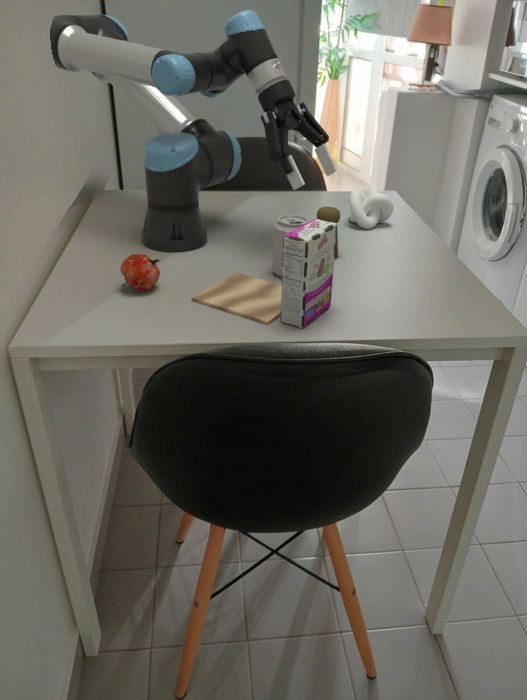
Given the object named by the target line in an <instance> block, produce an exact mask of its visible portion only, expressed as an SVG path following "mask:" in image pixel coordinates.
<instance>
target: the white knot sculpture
mask: <svg viewBox="0 0 527 700" xmlns="http://www.w3.org/2000/svg"><path fill="white" fill-rule="evenodd" d="M348 197H349V198H348V204H349V208H348V209H349V210H348V214H347V215H348V216H347V217H348V220H349V221H350V222H352V224H353V223H354V224H356V223H357V225H359V227H360V228H363V229H365V230H371V229H373V228H374V227H376V225H377V224H381V223H385V222H386V221H388V220H389V219H390V218H391V216H392V214H393V212H394V204H393V200H392V198H391V197H390V196H389V195H387V194H385V193H382V192H380V190H379V189H378V188H377V187H375V186H368V187H365V188H363V189H362V190H360V189H355V190H352V191H351V193H350V194H349V196H348Z"/></svg>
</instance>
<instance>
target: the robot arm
mask: <svg viewBox="0 0 527 700" xmlns="http://www.w3.org/2000/svg"><path fill="white" fill-rule="evenodd" d="M53 17H54V18H53V21H52V24H51V28H50V41H51V50H52V55H53V59H54V62H55V65H56V66H57V67H58V68H57V67H56V68H57V69H60V70H64V71H68V72H73V73H79V72H82V71H84V70H85V71H88V72H90V73H91V74H92V75H93V76H94V77H95V78H96V79H97V80H98V81H100V82H101V83H105V84H106V83H107V84H108V83H109V84H111V85H112V86H113V88H115V89H116V91H118V92H119V94H121V96H122V97H124V99H125V100H126V101H127V102H128V103H129V104H130V105H131V106H132V107H133V108H134V109H135V110H136V111H137V112H138V113H139V114H140V115H141V116H142V118H143V119H145V120H146V121H147V122H148V124H149V125H151V127H153V128H154V130H156V131H157V133H158V134H159V135H158V134H157V135H156V136H154V137H151V138H150V139H148V140H147V142H146V143H145V144H144V157H143V158H144V159H143V164H144V172H145V173H144V174H145V187H146V200H147V212H146V215H145V218H144V223H143V228H142V229H141V230H142V231H141V239H142V241H141V242H142V244H143V245H144V246H146V247H147V248H149V249H152V250H157V251H160V252H173V253H174V252H185V251H186V252H187V251H192V250H196V249H199V248H201V247H203V246H205V244H207V243H208V231H207V228H206V226H205V222H204V221H203V216H202V213H201V210H200V193H199V191H200V190H203V189H205V188H208V187H212V186H215V185H219V184H220V185H221V184H224V183H226V181H229V180H231V179H232V178H234V177H235V176H236V174H237V173H238V171H239V170H240V167H241V164H242V155H241V152H242V150H241V146H240V144H239V141H238V140H237V138H236V136H234V135H233V133H231V132H230V131H226V130H223V129H219V130H216V129H215V127H213V126H212V125H211V124H210V122H209V121H207V119H205V118H204V117H196V118H195V117H194V116H193V114H191V113H190V112H189V111H188V110H187V109H186V108H185V106H183V105H182V104H181V102H179V101H178V100H177V99H176V98H175V97H180V96H181V97H182V96H184V95H189V94H190V95H191V94H194V93H195V94H197V93H199V94H201V95H202V96H206V97H207V98H209V99H213V98H216V97H217V96H219V95H220V94H223V93H224V92H226V91H227V89H228V88H230V86H232V85H233V84H234V83H236V82H237V81H238V80H240V78H241V77H242V76H243V75H246V78H247V79H248V81H249V84H250V86H251V88H252V91H253V93H254V94H255V95H257V101H258V103H259V104H260V107H261V108H262V111H263V112H264V114H262V115H261V116H260V120H261V122H262V124H263V127H264V128H263V129H264V132H265V133H264V134H265V140H266V147H267V153H268V158H269V160H270V161H272V162H273V163H275V164H277V163H279V164H280V166H281V168H282V170H283V172H284V174H285V176H286V177H287V179H288V182H289V183H290V185H291V187H292V189H293V191H296V190H297V189H299V188H301V187H302V186H304V185H305V184H306V183H305V181H304V179H303V177H302V175H301V173H300V171H299V169H298V166H297V164H296V162H295V160H294V158H293V155H292V154H290V155H288V154H289V131H292V130H293V131H294V132H298V133H299V134H300V135H302V136H303V137H304V138H305V139H306V140H307V141H308V142H309V143H310V144H311V145H313V146H314V147H315V149H314V153H315V154H316V156H317V158H318V160H319V163H320V164H321V167H322V169H323V171H324V173H325V175H326V177H329V176H331V175H333V174H334V173H337V172H338V168H337V166H336V164H335V161H334V159H333V158H332V156H331V152H330V151H329V148H328V146H327V145H326V143H328V142H329V141H330V139H329V138H330V136H329V134H328V133H327V132H326V130H325V129H324V128H323V127H322V126H321V124H320V123H319V122H318V121H317V120H316V118H315V117H314V116H313V114H312V113H311V112H310V111H309V110H308V107H307V105H306V104H305V102H303V101H302V102H300V103H299V104H298V105H296V103H295V102H294V99H295V98H296V92H295V90H294V88H293V86H292V83H291V81H290V80H289V79H287V76H288V75H287V74H286V71H285V69H284V68H283V65H282V62H281V61H280V59H279V57H278V55H277V53H276V50H275V49H274V46H273V44H272V42H271V40H270V37H269V35H268V33H267V31H266V27H265V26H264V24H263V23H262V22H263V21H261V19H260V17H259V15H258V13H257V12H256V11H254V10H251V9H245V10H242V11H240V12H238V13H236V14H234V15H233V16H231V17H230V18H228V20H227V21H226V23H225V25H224V31H225V34H226V35H225V36H226V37H227V38H226V39H225V40H224V41H223V42H222V43H221V44H220V45H219V46H218V47H217V48H216V49H214V50H213V51H210V52H209V51H206V52H194V53H184V52H183V53H181V52H176V51H173V50H172V51H171V50H167V49H163V48H158V47H153V46H148V45H145V44H139V43H135V42H132V41H131V39H130V38H129V35H130V34H129V31H128V30H127V28H126V26H125V25H124V24H123V22H121V21H120V20H118V19H117V18H115V17H113V16H110V15H105V14H102V13H96V14H91V15H88V14H87V15H84V14H83V15H82V14H79V15H78V14H77V15H75V14H58V15H54V16H53Z"/></svg>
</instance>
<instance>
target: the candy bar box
mask: <svg viewBox="0 0 527 700" xmlns="http://www.w3.org/2000/svg"><path fill="white" fill-rule="evenodd" d="M336 229H337V230H338V223H333V222H328V221H324V220H320V219H317V218H313V219H310V220H309V222H307V223H306V224H304V225H302V226H300V227H298V228H297V229H295V230H293V231H291V232H289V233H288V234H286V235H284V236H283V237H284V238H283V269H282V278H281V279H282V280H281V286H282V301H281V316H280V322H281V323H282V324H285V325H289V326H293V327H296V328H300V329H305V328H306V327H307V326H308V325H310V324H311V323H312V322H314V321H315V319H317V318H318V317H320V316H321V314H323V313H325V311H327V310H328V309H329V308H331V304H332V303H331V302H332V293H333V279H334V265H335V260H334V256H335V243H336Z"/></svg>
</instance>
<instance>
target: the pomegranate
mask: <svg viewBox="0 0 527 700" xmlns="http://www.w3.org/2000/svg"><path fill="white" fill-rule="evenodd" d="M161 261H162V260H160V259H158V258H156V259H152V257H151V256H149V255H148V254H147V255H146V254H142V253H141V254H139V253H132V254H131V255H129V256H127V257H125V259H124V260H123V261H122V263H121V265H120V268H119V269H120V273H121V274H122V275H123V277H124V281H125V282H124V283H123V284H121V287H124V286H125V285H127V284H128V285H129V286H131V287H132V288H133V289H134V290H135V291H137V292H146V291H149V290H150V289H152V288H153V287H154V285H155V284H157V282H159V279H160V276H161V270H160V267H159V266H158V264H157V263H159V262H161Z"/></svg>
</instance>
